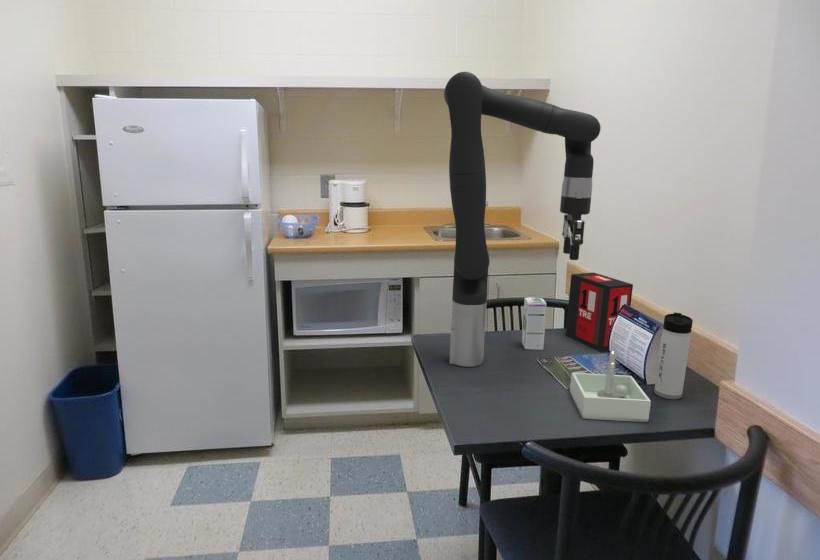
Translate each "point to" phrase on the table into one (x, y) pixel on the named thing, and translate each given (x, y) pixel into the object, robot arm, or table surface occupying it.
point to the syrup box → (534, 323)
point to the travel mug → (673, 356)
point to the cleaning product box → (595, 308)
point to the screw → (609, 379)
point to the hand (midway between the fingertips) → (570, 256)
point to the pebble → (621, 391)
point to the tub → (609, 408)
